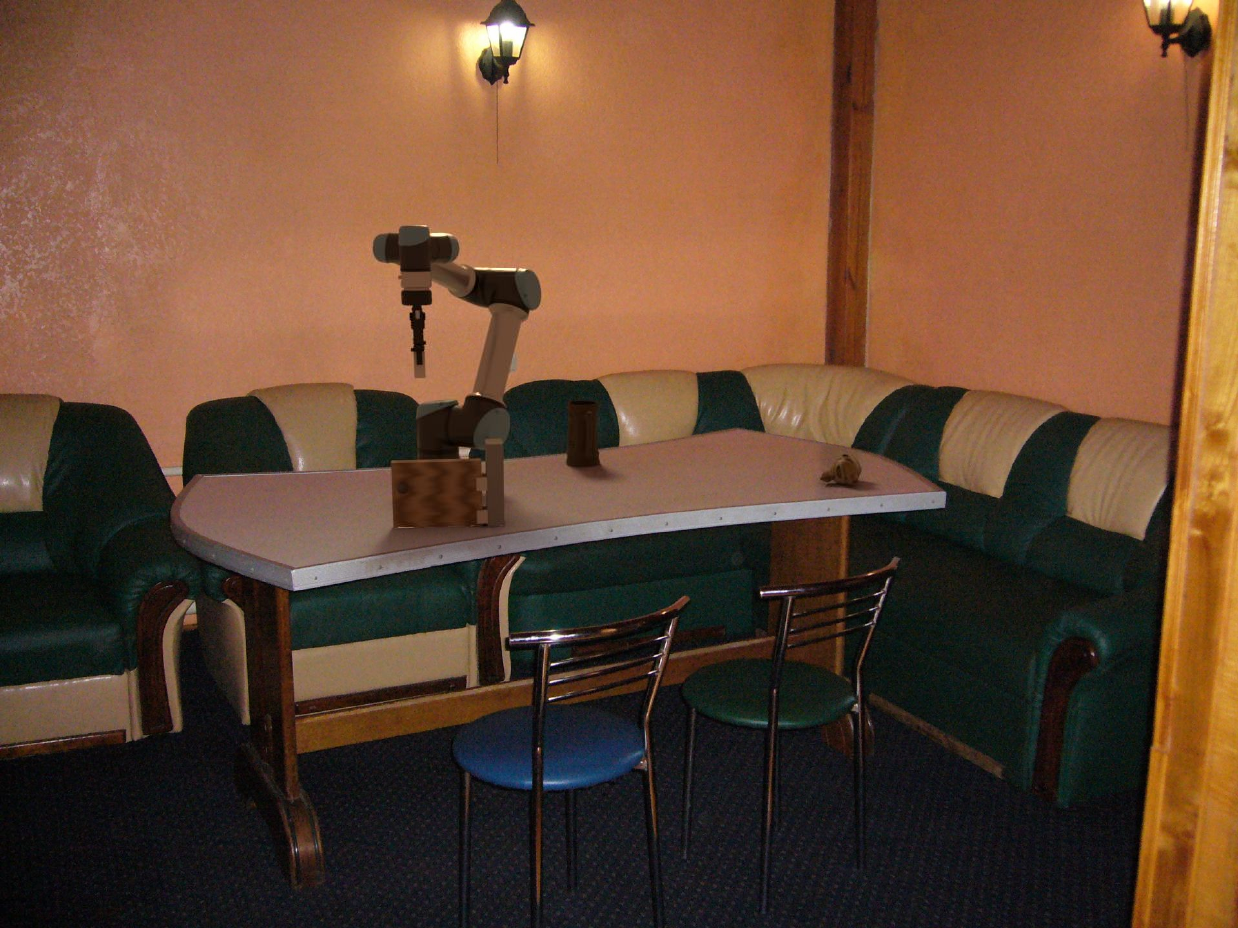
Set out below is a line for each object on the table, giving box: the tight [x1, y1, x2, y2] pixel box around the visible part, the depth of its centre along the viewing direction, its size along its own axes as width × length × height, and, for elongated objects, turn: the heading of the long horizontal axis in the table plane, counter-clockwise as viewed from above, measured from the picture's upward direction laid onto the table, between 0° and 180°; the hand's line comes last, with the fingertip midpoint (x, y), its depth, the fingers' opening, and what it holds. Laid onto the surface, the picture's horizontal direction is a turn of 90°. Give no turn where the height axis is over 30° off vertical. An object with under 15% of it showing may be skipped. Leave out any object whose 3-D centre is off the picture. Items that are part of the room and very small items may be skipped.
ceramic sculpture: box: [819, 453, 862, 486], centre depth 306 cm, size 11×9×15 cm
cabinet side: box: [476, 439, 506, 527], centre depth 257 cm, size 6×8×20 cm
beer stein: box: [565, 399, 601, 468], centre depth 328 cm, size 15×10×20 cm
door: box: [390, 457, 484, 529], centre depth 254 cm, size 21×4×16 cm, turn 99°
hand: (419, 374), depth 269 cm, fingers open, 13 cm apart
